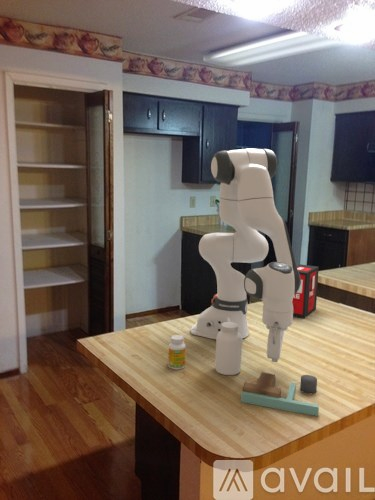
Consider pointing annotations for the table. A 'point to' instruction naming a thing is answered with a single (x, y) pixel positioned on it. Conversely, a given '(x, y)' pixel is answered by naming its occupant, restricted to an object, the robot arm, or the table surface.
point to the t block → (263, 386)
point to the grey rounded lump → (308, 384)
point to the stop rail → (281, 402)
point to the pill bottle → (228, 349)
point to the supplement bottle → (176, 352)
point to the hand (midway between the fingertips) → (274, 360)
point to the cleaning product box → (306, 291)
